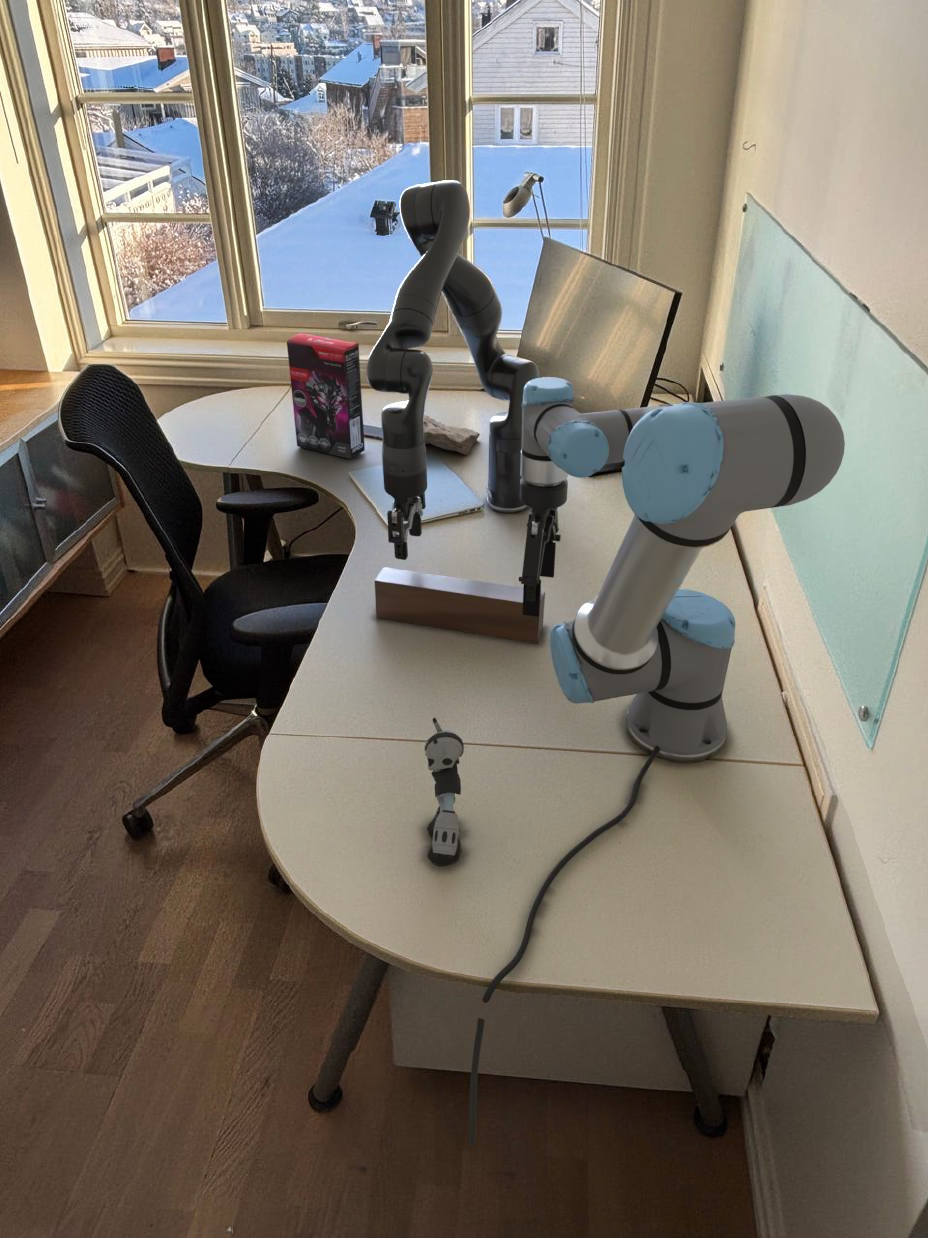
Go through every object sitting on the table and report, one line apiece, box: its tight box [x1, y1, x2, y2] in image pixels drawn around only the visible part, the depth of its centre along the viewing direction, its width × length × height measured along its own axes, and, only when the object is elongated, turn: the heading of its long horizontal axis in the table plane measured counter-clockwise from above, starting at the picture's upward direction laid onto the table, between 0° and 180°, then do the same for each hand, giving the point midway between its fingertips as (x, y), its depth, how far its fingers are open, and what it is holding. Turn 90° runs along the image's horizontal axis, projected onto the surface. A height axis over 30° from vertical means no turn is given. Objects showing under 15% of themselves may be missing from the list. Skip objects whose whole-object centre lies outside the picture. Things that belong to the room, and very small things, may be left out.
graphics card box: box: [286, 332, 366, 459], centre depth 224 cm, size 17×7×27 cm, turn 62°
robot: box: [423, 717, 465, 867], centre depth 118 cm, size 20×5×20 cm, turn 3°
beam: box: [374, 566, 546, 644], centre depth 165 cm, size 5×30×8 cm, turn 75°
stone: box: [423, 414, 481, 455], centre depth 233 cm, size 21×15×6 cm
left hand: (408, 546), depth 167 cm, fingers open, 8 cm apart
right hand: (538, 594), depth 156 cm, fingers open, 13 cm apart
